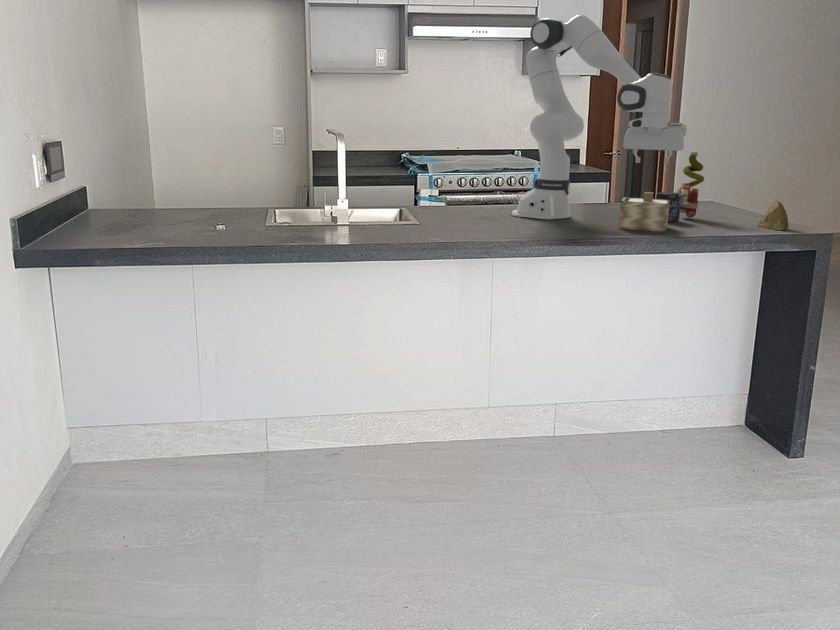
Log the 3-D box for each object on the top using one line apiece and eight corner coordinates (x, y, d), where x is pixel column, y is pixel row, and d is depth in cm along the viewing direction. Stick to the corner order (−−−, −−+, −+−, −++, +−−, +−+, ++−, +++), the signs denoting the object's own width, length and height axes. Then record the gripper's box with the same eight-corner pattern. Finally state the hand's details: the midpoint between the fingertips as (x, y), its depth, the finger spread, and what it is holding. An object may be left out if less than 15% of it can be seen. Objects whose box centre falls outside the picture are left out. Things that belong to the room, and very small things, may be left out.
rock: (797, 225, 280) (790, 217, 289) (785, 206, 278) (778, 198, 287) (768, 242, 284) (762, 233, 293) (756, 223, 282) (750, 214, 291)
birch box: (618, 228, 281) (621, 200, 279) (621, 224, 290) (624, 197, 288) (665, 231, 276) (668, 203, 274) (667, 227, 285) (670, 200, 283)
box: (665, 223, 295) (668, 194, 292) (653, 220, 299) (656, 192, 296) (679, 221, 299) (682, 193, 296) (667, 219, 303) (670, 191, 300)
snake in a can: (670, 215, 311) (677, 150, 304) (696, 216, 310) (704, 151, 303) (675, 220, 300) (682, 153, 293) (703, 221, 299) (711, 154, 292)
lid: (627, 206, 279) (628, 193, 278) (629, 202, 287) (630, 190, 286) (665, 208, 275) (667, 195, 274) (667, 205, 283) (668, 192, 281)
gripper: (687, 122, 273) (683, 163, 276) (626, 121, 279) (623, 161, 283) (686, 123, 267) (682, 165, 271) (624, 121, 273) (621, 162, 277)
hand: (651, 163), depth 277 cm, fingers open, 8 cm apart
